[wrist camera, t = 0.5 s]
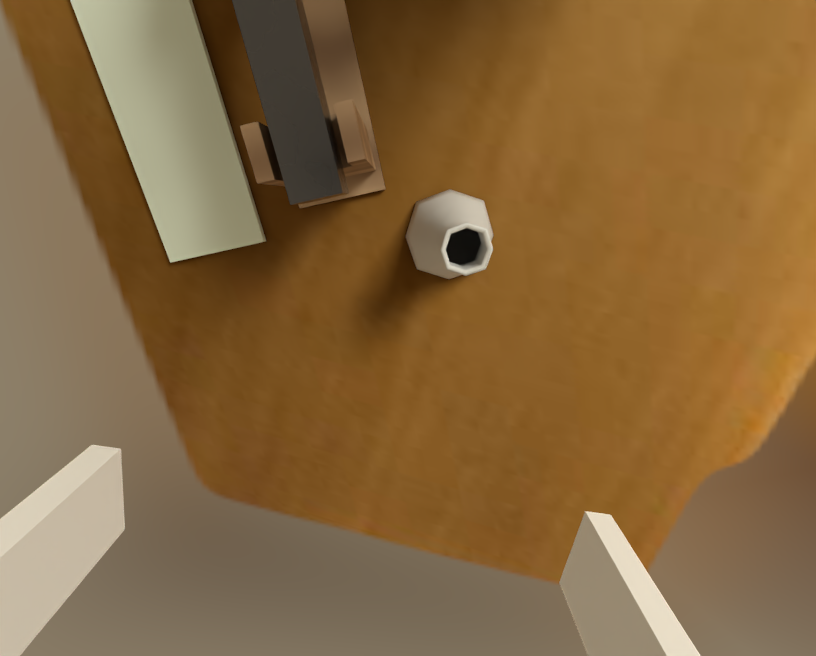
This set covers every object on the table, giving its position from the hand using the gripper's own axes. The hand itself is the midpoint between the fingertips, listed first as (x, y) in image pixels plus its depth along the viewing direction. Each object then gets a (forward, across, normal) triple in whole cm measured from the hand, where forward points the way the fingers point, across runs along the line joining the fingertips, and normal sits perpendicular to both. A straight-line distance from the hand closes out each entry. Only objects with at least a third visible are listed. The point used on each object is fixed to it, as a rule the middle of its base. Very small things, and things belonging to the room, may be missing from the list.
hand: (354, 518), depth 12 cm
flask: (+26, +4, +6) cm, 27 cm away
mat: (+26, -19, +14) cm, 35 cm away
